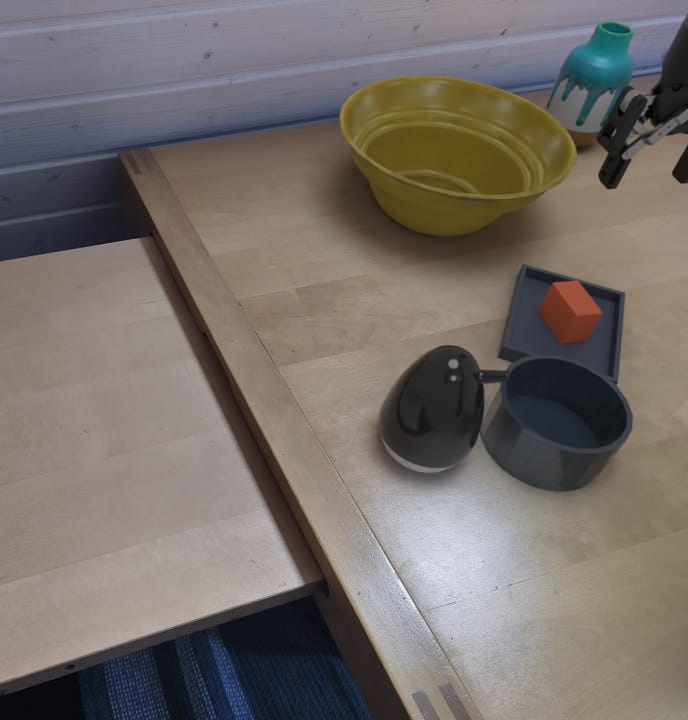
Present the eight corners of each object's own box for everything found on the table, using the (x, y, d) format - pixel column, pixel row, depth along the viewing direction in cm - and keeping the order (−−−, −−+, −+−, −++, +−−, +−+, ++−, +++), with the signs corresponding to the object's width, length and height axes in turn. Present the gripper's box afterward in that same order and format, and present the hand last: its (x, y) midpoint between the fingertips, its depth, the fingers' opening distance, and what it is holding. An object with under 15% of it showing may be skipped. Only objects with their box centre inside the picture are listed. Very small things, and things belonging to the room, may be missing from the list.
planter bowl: (491, 147, 120) (519, 70, 110) (579, 272, 99) (624, 190, 89) (305, 155, 117) (316, 76, 107) (355, 285, 96) (375, 202, 86)
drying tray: (517, 274, 98) (522, 263, 97) (618, 303, 95) (625, 292, 93) (497, 357, 88) (503, 346, 86) (610, 393, 84) (618, 382, 83)
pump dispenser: (463, 499, 74) (513, 409, 63) (364, 472, 76) (395, 379, 65) (470, 425, 80) (516, 331, 69) (378, 401, 82) (409, 306, 71)
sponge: (562, 308, 93) (577, 279, 90) (585, 341, 89) (603, 312, 86) (537, 311, 93) (552, 282, 89) (560, 344, 89) (576, 315, 85)
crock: (565, 388, 85) (590, 348, 79) (627, 483, 76) (659, 445, 71) (461, 400, 83) (479, 360, 78) (512, 499, 74) (537, 461, 69)
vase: (525, 142, 122) (570, 28, 108) (546, 117, 128) (592, 7, 114) (587, 164, 118) (642, 49, 104) (606, 137, 124) (661, 25, 109)
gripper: (685, 48, 60) (600, 208, 72) (833, 40, 61) (726, 198, 73) (634, 11, 65) (563, 167, 77) (773, 5, 66) (682, 158, 78)
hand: (643, 182), depth 75 cm, fingers open, 8 cm apart
